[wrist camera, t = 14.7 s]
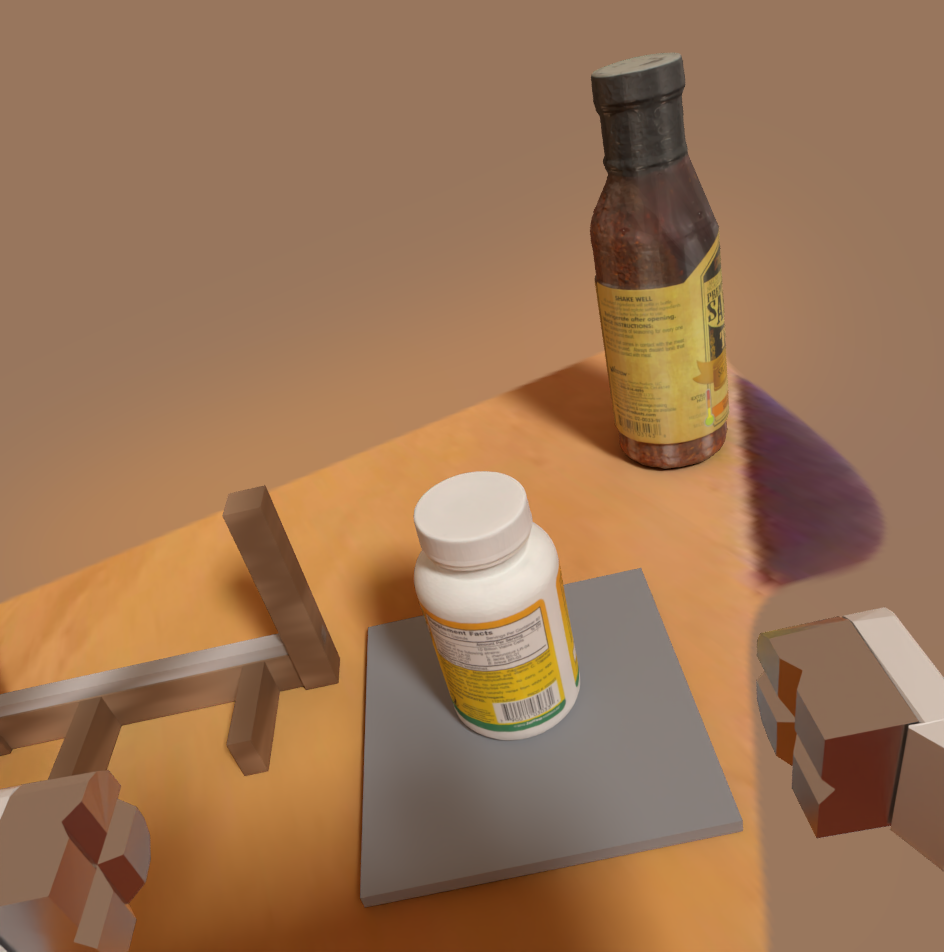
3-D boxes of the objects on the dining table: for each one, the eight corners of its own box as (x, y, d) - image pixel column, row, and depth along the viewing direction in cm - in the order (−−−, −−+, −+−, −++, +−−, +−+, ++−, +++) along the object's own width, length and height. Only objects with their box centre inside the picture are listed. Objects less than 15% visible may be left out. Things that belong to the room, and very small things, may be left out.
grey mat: (365, 907, 28) (360, 897, 27) (371, 636, 39) (368, 627, 38) (742, 831, 27) (742, 820, 27) (642, 577, 38) (640, 568, 38)
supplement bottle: (540, 765, 30) (490, 572, 25) (427, 716, 33) (361, 535, 28) (605, 662, 34) (573, 473, 28) (497, 627, 37) (449, 449, 31)
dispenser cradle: (-62, 840, 34) (-224, 679, 29) (-8, 733, 39) (-139, 577, 33) (333, 757, 33) (244, 575, 28) (339, 658, 38) (265, 485, 32)
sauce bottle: (745, 461, 44) (734, 55, 33) (629, 484, 44) (580, 91, 33) (710, 402, 49) (691, 37, 38) (607, 423, 50) (559, 68, 39)
